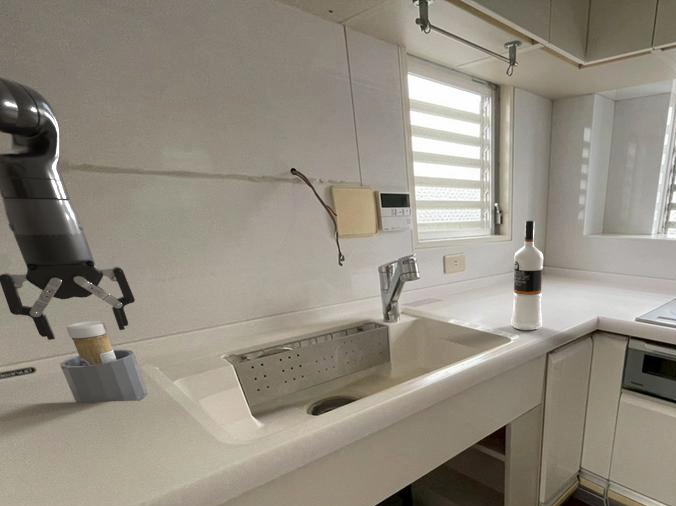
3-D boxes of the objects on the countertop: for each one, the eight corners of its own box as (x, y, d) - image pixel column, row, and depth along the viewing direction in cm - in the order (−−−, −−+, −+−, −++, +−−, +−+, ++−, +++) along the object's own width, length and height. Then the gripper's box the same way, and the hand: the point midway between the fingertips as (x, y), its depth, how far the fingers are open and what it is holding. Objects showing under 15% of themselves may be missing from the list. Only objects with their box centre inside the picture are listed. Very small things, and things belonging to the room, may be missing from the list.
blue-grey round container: (62, 412, 67) (43, 367, 64) (108, 390, 76) (92, 350, 73) (121, 410, 68) (104, 366, 65) (159, 389, 77) (146, 349, 74)
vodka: (546, 329, 118) (551, 220, 107) (516, 331, 116) (518, 220, 105) (535, 322, 126) (539, 220, 115) (507, 324, 124) (508, 220, 113)
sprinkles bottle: (88, 402, 70) (57, 326, 65) (113, 391, 74) (85, 320, 69) (113, 402, 70) (83, 327, 65) (136, 392, 74) (111, 320, 69)
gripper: (110, 230, 69) (140, 322, 75) (-20, 231, 59) (26, 337, 65) (113, 231, 64) (145, 330, 70) (-28, 233, 54) (23, 347, 60)
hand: (88, 333), depth 67 cm, fingers open, 8 cm apart
